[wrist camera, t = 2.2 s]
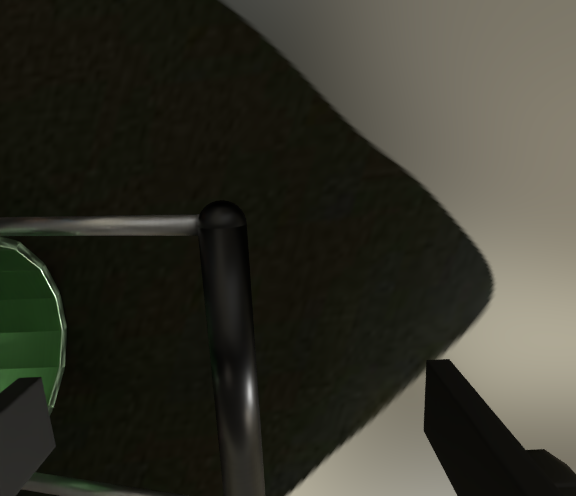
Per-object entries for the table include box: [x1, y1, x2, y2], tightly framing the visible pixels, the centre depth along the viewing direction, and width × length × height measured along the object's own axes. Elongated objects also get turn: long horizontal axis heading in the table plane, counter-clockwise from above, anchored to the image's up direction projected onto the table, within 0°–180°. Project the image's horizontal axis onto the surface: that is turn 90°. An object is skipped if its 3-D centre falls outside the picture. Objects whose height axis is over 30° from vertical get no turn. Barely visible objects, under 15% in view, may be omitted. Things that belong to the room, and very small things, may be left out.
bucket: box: [0, 200, 265, 496], centre depth 16 cm, size 11×13×22 cm
